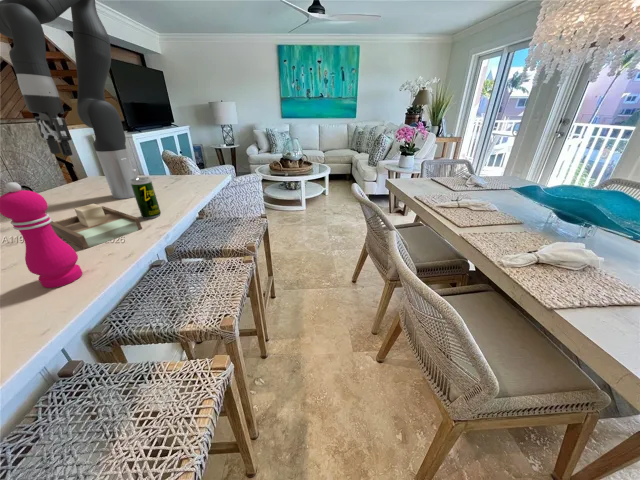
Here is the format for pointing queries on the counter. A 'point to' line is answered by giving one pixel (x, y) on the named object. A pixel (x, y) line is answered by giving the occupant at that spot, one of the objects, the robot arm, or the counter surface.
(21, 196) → the pepper mill
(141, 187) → the beer can
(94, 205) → the maple block
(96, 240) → the box
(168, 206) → the counter surface
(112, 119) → the robot arm
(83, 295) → the counter surface
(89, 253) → the counter surface
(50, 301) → the counter surface
